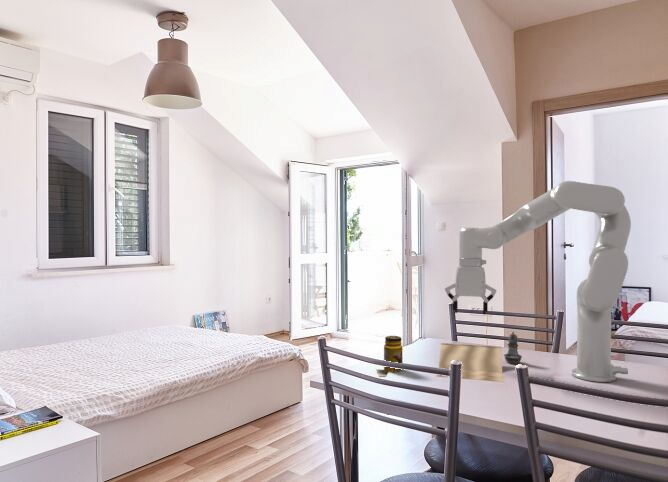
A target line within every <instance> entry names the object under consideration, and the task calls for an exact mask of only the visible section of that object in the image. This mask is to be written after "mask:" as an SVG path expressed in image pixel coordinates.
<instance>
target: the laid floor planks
mask: <svg viewBox="0 0 668 482" xmlns="http://www.w3.org/2000/svg"><path fill="white" fill-rule="evenodd" d="M445 369H448V368H445ZM435 376H436V377H438V378H439V377H441V378H449V377H448V376H442V375H437V374H436V375H435ZM461 379H464V380H477V381H489V382H500V383H504V376H503V372H502V373H499V372H487V371H474V370H462V378H461Z"/></svg>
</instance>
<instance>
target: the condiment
mask: <svg viewBox="0 0 668 482" xmlns="http://www.w3.org/2000/svg"><path fill="white" fill-rule="evenodd" d="M384 339H385V341H384V345H383V361H384V360H386V361H391V362H398V363H402V364H403V345H402V337H401V336H397V335H387V336H385V338H384ZM375 370H376V373H377V375H378V377H387V376H388V374H389V373H400V372H402V371H403V369H402V370H401V369H395V368H390V367H384V366H383V369H375Z"/></svg>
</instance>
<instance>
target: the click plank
mask: <svg viewBox="0 0 668 482" xmlns="http://www.w3.org/2000/svg"><path fill="white" fill-rule="evenodd" d="M502 355H503V354H502V347H501V346H496V345H495V346H494V345H493V346H492V345H479V344H478V345H477V344H475V345H474V344H464V343H463V344H461V343H448V342H447V343H445V342H441V343H440V354H439V364H438V369H439V368H447V369H449V367H450V362H451V361H452V360H459V361H461V362H462V364H463V366H462V370H472V371H485V372H498V373H502V374H503V361H502V360H503V359H502V358H503V356H502Z"/></svg>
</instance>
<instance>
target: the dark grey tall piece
mask: <svg viewBox="0 0 668 482" xmlns="http://www.w3.org/2000/svg"><path fill="white" fill-rule="evenodd" d="M511 332H512V333H511V334H509V335H508V343H507V348H508V351H507V353H504V354H503V356H504V360H505V361H506V362H507V363H508V364H512V365H513V364H514V365H517V364H519V363H520V362H521V360H522V358H523V356H522V355H520V354H519V352H518V347H519V344H518V336H517V335H516V333H515V332H514V331H511Z"/></svg>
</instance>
